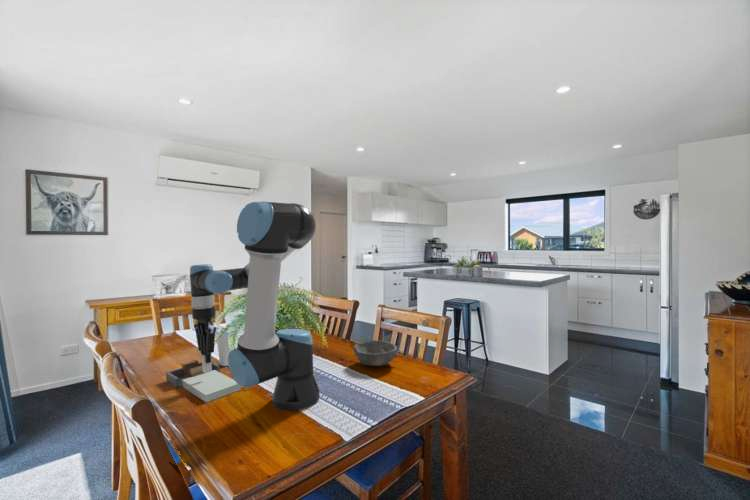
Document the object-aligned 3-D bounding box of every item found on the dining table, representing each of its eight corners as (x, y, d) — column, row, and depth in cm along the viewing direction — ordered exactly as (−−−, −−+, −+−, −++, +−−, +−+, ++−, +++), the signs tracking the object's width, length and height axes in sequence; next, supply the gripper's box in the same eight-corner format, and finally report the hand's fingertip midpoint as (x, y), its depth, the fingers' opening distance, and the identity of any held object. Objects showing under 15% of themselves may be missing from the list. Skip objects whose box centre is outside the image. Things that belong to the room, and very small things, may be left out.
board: (240, 390, 126) (240, 383, 126) (206, 402, 117) (205, 395, 117) (215, 376, 139) (214, 369, 139) (182, 386, 130) (182, 379, 130)
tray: (220, 374, 141) (219, 365, 140) (176, 388, 129) (176, 378, 128) (208, 368, 147) (208, 360, 147) (166, 381, 135) (166, 372, 135)
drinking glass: (228, 367, 148) (227, 332, 147) (214, 366, 149) (212, 331, 148) (238, 361, 154) (236, 327, 154) (224, 361, 156) (222, 327, 155)
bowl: (404, 368, 142) (404, 348, 142) (363, 376, 136) (362, 355, 135) (386, 354, 159) (386, 337, 159) (349, 360, 152) (348, 342, 152)
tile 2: (205, 372, 136) (204, 364, 137) (192, 376, 132) (190, 368, 133) (201, 374, 139) (199, 367, 140) (187, 378, 135) (186, 371, 136)
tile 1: (198, 361, 140) (195, 359, 142) (185, 364, 136) (181, 363, 138) (199, 373, 140) (195, 371, 142) (185, 377, 137) (182, 375, 139)
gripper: (222, 306, 127) (225, 371, 128) (206, 303, 136) (209, 364, 136) (200, 310, 121) (204, 378, 122) (185, 307, 130) (189, 370, 131)
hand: (207, 371), depth 129 cm, fingers closed
